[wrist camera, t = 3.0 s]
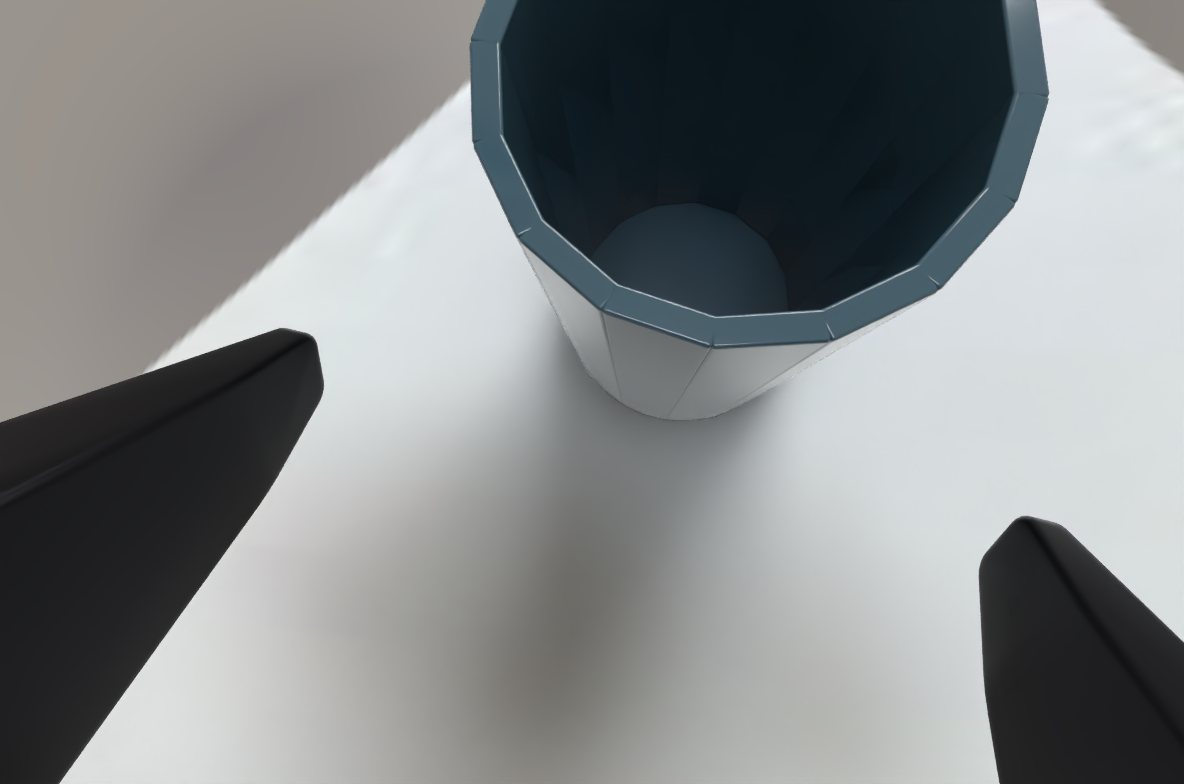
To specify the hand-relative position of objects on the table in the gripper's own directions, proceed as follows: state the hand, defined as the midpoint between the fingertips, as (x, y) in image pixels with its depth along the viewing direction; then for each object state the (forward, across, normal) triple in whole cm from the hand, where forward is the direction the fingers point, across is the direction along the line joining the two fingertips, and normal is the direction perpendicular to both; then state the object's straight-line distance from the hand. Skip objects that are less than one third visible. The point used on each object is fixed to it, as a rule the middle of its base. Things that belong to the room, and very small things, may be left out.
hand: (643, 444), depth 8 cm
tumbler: (+11, 0, +5) cm, 12 cm away
